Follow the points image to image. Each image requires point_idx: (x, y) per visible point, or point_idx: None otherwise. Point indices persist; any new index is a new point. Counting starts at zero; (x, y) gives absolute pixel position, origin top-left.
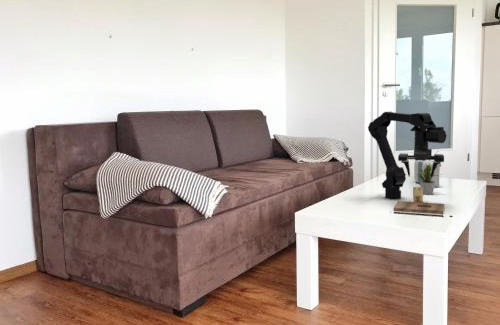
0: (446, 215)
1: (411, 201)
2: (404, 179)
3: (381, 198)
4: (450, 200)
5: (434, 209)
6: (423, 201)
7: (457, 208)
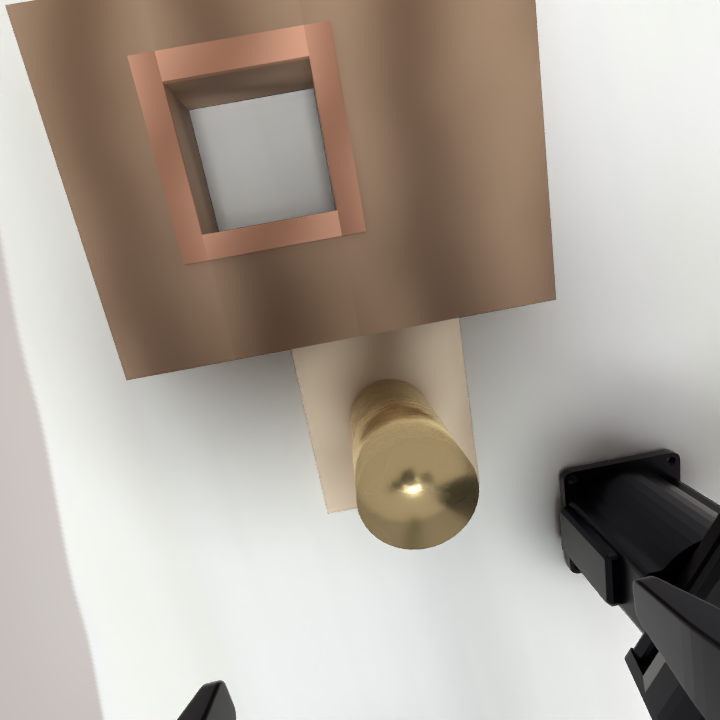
0: None
1: None
2: (672, 710)
3: None
4: None
5: (113, 42)
6: None
7: (78, 462)
